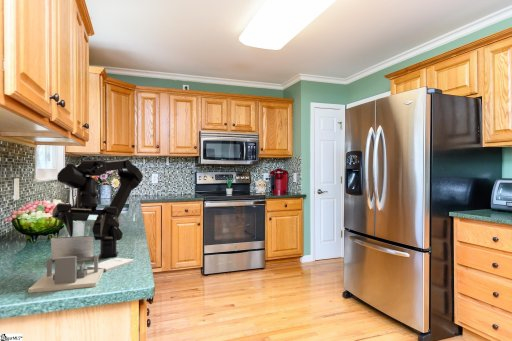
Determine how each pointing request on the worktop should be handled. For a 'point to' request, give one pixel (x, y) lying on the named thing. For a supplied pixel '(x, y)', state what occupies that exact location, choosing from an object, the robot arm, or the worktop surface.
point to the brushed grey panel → (72, 247)
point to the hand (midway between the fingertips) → (87, 236)
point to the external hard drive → (112, 264)
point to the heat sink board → (78, 284)
